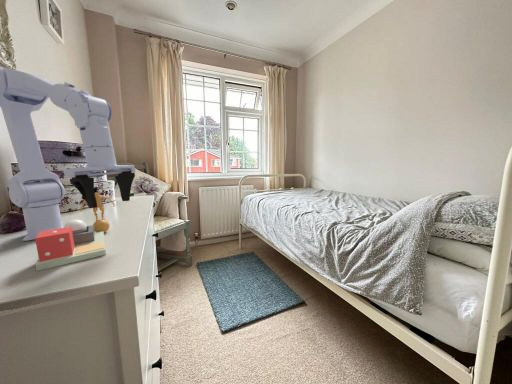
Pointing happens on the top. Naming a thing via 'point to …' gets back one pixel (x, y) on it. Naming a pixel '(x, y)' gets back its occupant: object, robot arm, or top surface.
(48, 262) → the board
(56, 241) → the die
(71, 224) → the white ball
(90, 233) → the housing
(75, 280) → the top surface
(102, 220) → the figurine
